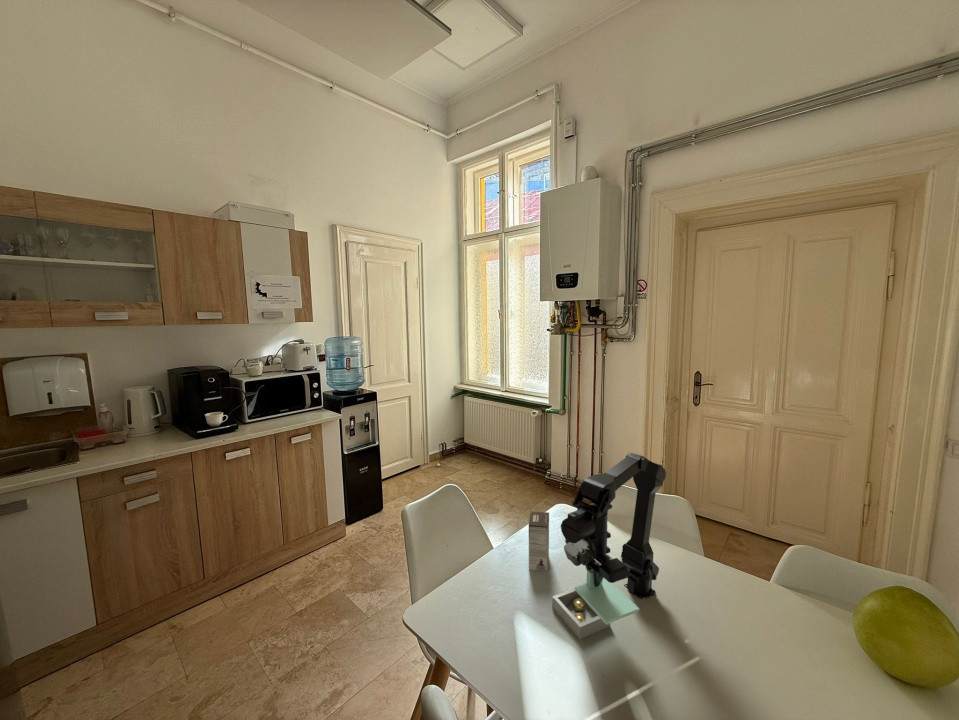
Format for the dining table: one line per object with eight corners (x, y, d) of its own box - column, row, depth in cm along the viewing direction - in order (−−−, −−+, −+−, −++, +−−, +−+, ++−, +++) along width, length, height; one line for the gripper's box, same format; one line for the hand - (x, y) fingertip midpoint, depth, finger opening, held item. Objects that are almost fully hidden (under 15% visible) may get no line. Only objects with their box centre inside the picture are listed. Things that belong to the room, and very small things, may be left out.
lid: (605, 579, 106) (606, 561, 105) (639, 611, 95) (640, 591, 94) (574, 589, 102) (575, 571, 102) (606, 624, 91) (607, 604, 91)
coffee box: (530, 553, 136) (530, 510, 134) (549, 556, 135) (549, 511, 133) (528, 571, 127) (528, 524, 125) (548, 573, 126) (548, 526, 124)
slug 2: (580, 618, 107) (580, 611, 106) (588, 626, 104) (588, 619, 104) (571, 621, 105) (571, 615, 105) (578, 629, 103) (578, 623, 102)
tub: (580, 598, 115) (580, 585, 114) (610, 627, 104) (610, 614, 103) (552, 609, 111) (552, 596, 110) (579, 641, 100) (580, 627, 99)
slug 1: (579, 603, 112) (579, 596, 112) (586, 610, 109) (586, 603, 109) (571, 606, 111) (571, 600, 110) (578, 613, 108) (578, 607, 108)
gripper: (548, 517, 106) (548, 570, 108) (593, 556, 89) (592, 618, 91) (582, 508, 110) (581, 560, 112) (631, 544, 93) (629, 604, 95)
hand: (594, 583), depth 103 cm, fingers closed on lid
